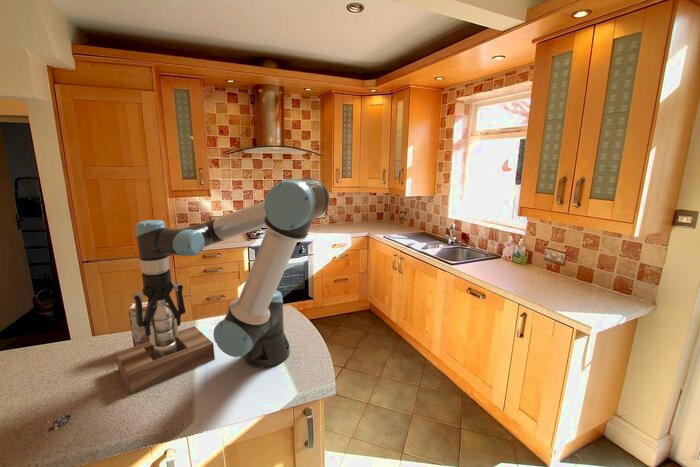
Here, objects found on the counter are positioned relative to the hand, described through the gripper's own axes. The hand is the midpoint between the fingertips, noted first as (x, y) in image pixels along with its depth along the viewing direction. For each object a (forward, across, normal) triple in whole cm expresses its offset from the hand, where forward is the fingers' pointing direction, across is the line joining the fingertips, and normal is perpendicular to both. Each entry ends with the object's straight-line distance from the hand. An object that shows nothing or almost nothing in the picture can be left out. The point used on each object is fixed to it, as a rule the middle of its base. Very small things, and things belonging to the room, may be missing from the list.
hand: (164, 339), depth 105 cm
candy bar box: (+9, 0, -15) cm, 18 cm away
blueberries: (+10, +28, +7) cm, 30 cm away
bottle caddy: (+9, 0, 0) cm, 9 cm away
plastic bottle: (+6, 0, 0) cm, 6 cm away
